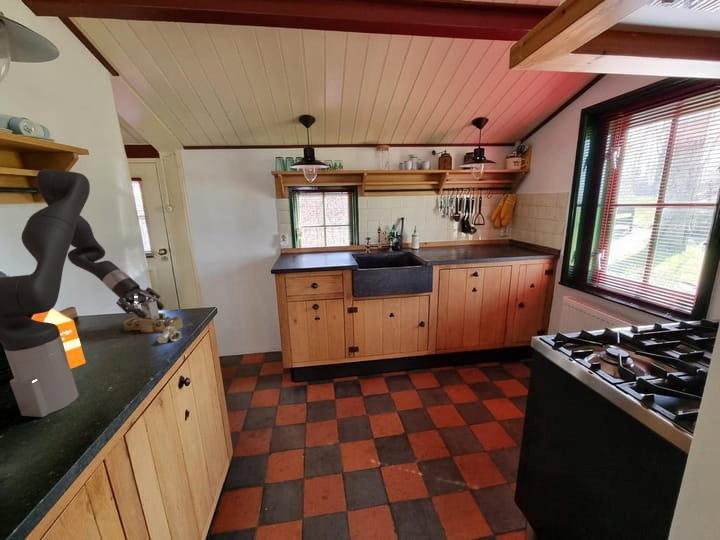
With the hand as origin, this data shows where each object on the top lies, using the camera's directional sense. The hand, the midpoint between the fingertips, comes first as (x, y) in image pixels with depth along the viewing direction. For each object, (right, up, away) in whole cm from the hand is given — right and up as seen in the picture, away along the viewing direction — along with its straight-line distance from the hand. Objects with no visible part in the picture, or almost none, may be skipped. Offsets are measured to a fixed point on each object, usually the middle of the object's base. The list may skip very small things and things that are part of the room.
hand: (154, 312), depth 116 cm
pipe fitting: (+10, -9, -8) cm, 16 cm away
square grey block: (-1, -6, +2) cm, 7 cm away
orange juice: (-12, -13, -23) cm, 29 cm away
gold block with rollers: (-1, -6, +2) cm, 7 cm away
